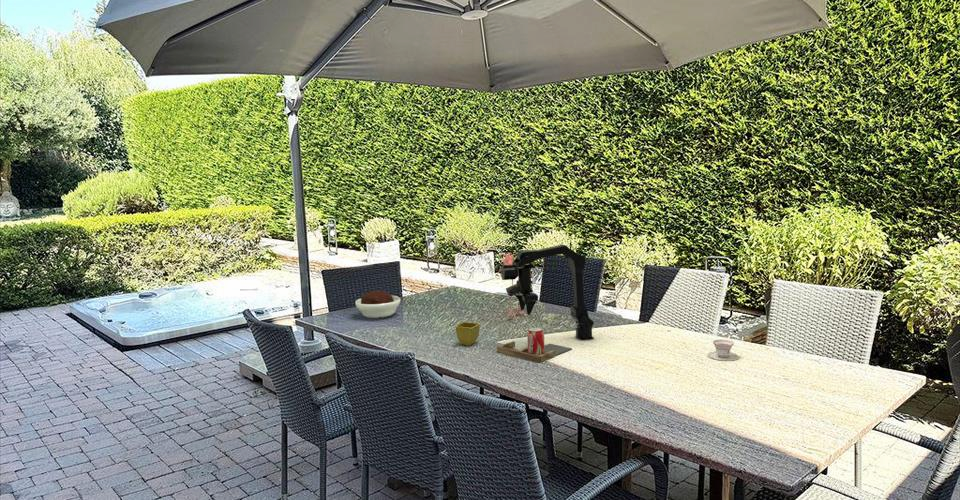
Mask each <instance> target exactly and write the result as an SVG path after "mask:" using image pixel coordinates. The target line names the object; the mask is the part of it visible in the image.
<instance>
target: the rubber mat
mask: <svg viewBox="0 0 960 500" xmlns="http://www.w3.org/2000/svg"><path fill="white" fill-rule="evenodd" d="M544 346H545V352H544V354H545V353H547V352H550V351H552V350H554V351H555V357H557V356H560V355H562V354H564V353H567V352H569V351H573V348H572V347H567V346H562V345H559V344H554V343H548V344H544Z"/></svg>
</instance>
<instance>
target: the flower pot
mask: <svg viewBox="0 0 960 500" xmlns="http://www.w3.org/2000/svg"><path fill="white" fill-rule="evenodd" d="M480 326H481V323H479V322H468V321H463V322H460V323H459V324H457V325H455V326H454V327H455V334H456V337H457V340H458V342H459V343H460V345H462V344H463V346H464V345H465V346H472V345H474V344H475V343H476V341H478V338H479V335H480V328H481V327H480Z"/></svg>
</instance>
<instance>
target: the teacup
mask: <svg viewBox="0 0 960 500" xmlns="http://www.w3.org/2000/svg"><path fill="white" fill-rule="evenodd" d="M712 343H713V345H714V348H715V351H709V352H707V354H706V355H707V357H708V358H710V359H711V360H716V361H722V362H723V361H724V362H729V361H730V362H731V361H737V360H738V359H740V356H739V355H738V353H734V352H731V349H732V347H733V346H734V343H735V341H733V340H730V339H715V340H713V341H712Z"/></svg>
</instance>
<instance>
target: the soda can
mask: <svg viewBox="0 0 960 500" xmlns="http://www.w3.org/2000/svg"><path fill="white" fill-rule="evenodd" d="M526 337H527V347H528V353H529V354H533V355H538V356H539V355H542V354H544V352H545V332H544V331H543V328H542V327H537V326H536V327H533V326H532V327H530V328H528V331H527V336H526Z"/></svg>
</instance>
